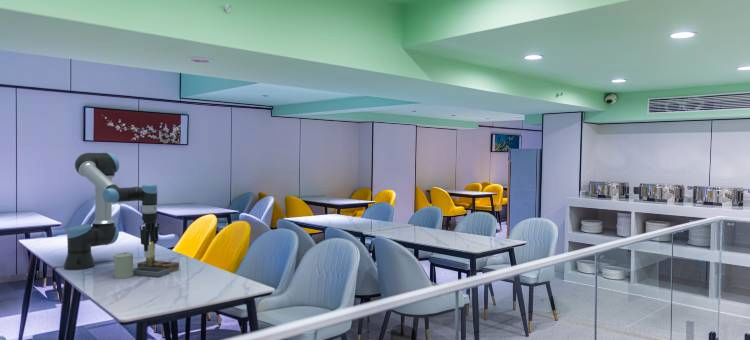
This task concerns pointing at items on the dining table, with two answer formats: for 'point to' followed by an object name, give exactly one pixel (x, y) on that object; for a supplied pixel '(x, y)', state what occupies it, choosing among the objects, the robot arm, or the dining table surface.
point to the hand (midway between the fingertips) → (149, 256)
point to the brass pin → (150, 259)
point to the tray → (150, 271)
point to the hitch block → (162, 265)
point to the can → (123, 265)
